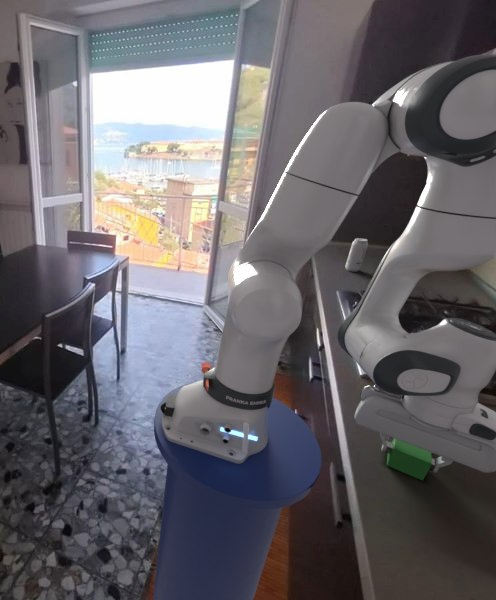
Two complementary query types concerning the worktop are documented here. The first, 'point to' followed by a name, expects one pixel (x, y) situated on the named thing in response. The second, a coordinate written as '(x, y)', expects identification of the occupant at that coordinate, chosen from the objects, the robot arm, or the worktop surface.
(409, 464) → the block
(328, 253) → the worktop surface
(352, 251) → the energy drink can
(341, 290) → the worktop surface
